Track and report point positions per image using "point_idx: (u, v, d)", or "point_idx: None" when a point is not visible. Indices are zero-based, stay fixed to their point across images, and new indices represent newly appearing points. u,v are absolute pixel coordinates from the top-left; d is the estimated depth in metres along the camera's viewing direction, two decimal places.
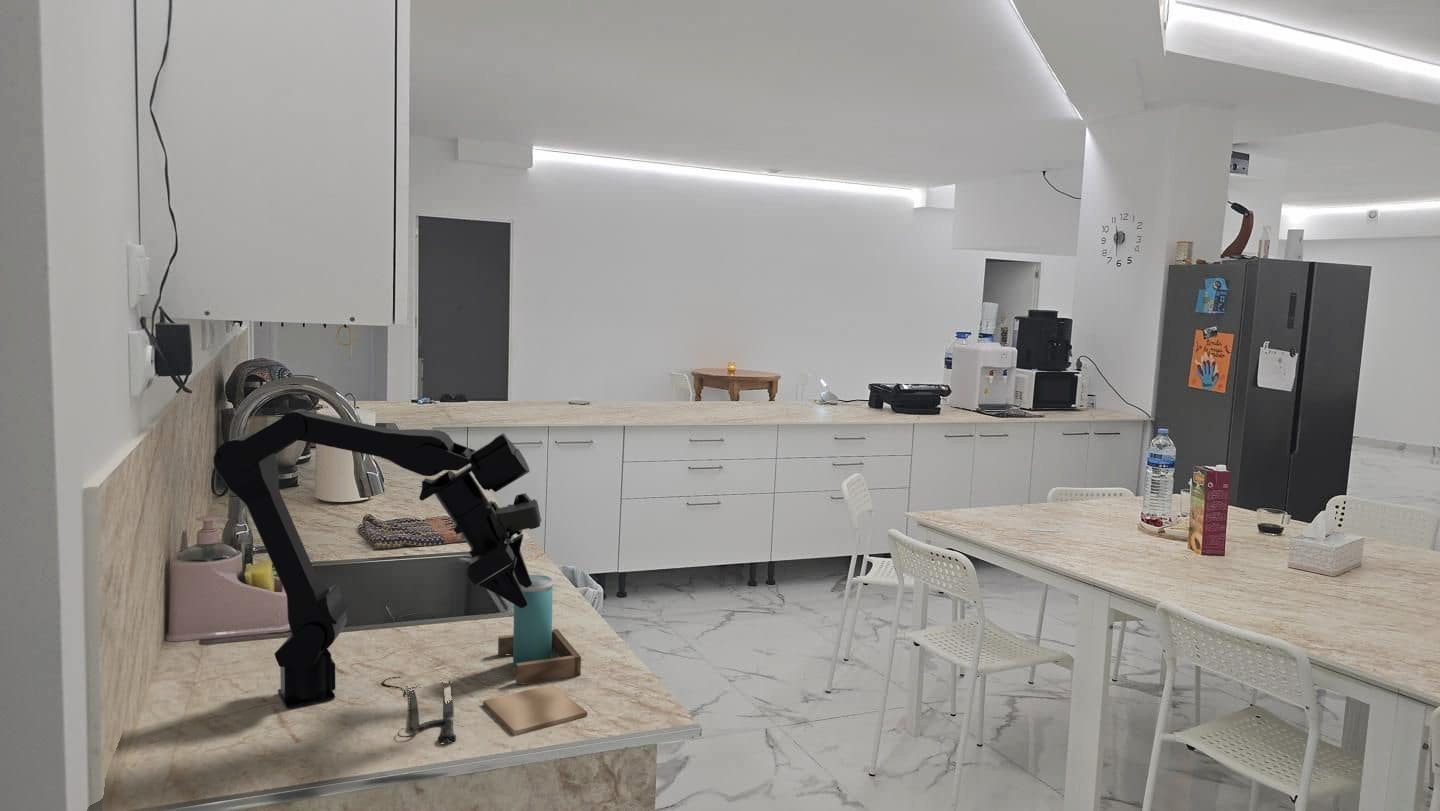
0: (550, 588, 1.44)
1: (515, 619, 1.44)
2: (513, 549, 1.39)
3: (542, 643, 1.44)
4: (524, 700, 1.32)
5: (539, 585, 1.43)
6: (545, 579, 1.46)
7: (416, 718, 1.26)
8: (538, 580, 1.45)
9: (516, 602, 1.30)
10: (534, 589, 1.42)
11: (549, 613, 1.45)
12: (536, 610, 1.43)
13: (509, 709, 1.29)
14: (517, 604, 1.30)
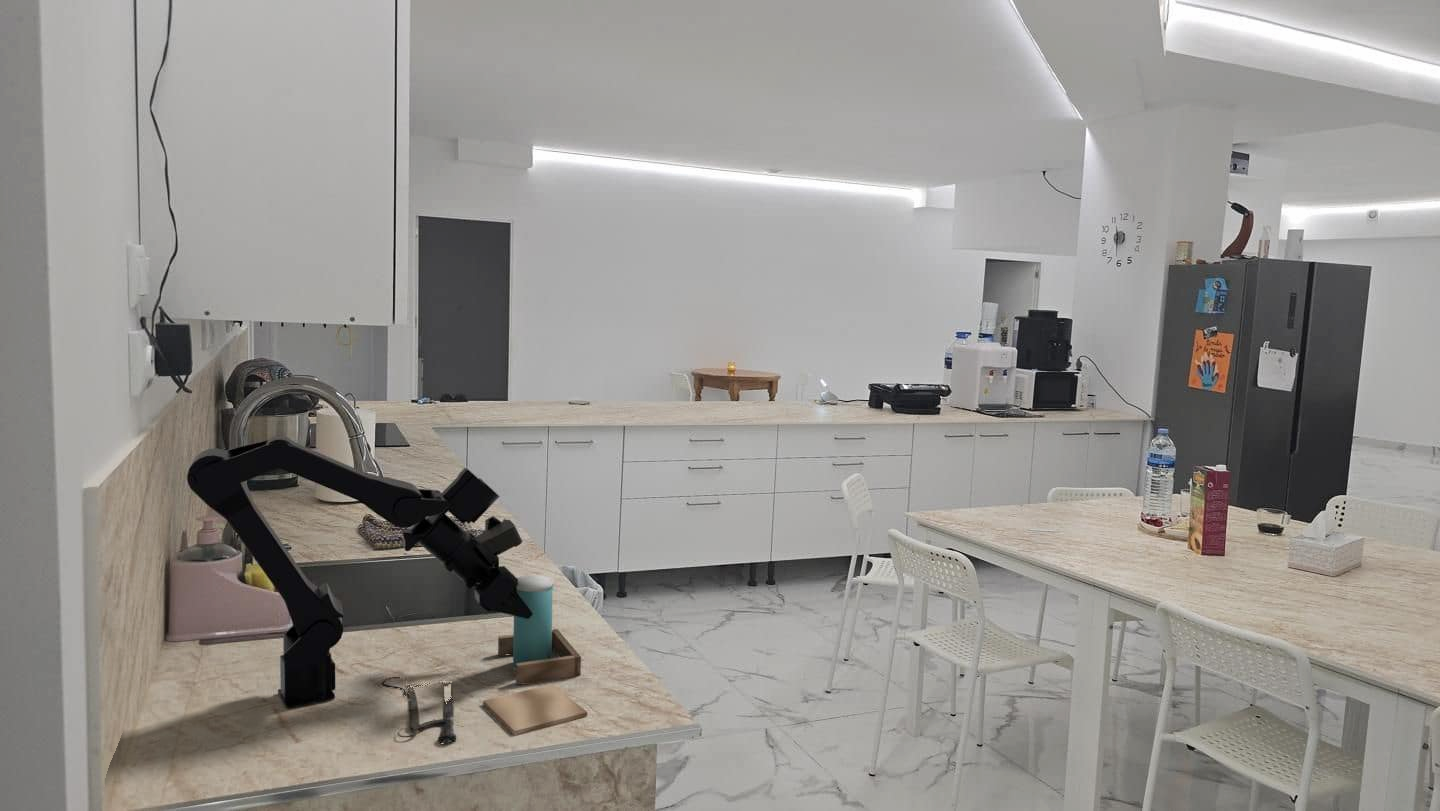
0: (550, 588, 1.44)
1: (515, 619, 1.44)
2: None
3: (542, 643, 1.44)
4: (524, 700, 1.32)
5: (539, 585, 1.43)
6: (545, 579, 1.46)
7: (417, 718, 1.26)
8: (538, 580, 1.45)
9: (523, 615, 1.40)
10: (535, 590, 1.42)
11: (549, 613, 1.45)
12: (537, 610, 1.43)
13: (509, 709, 1.29)
14: (524, 616, 1.40)
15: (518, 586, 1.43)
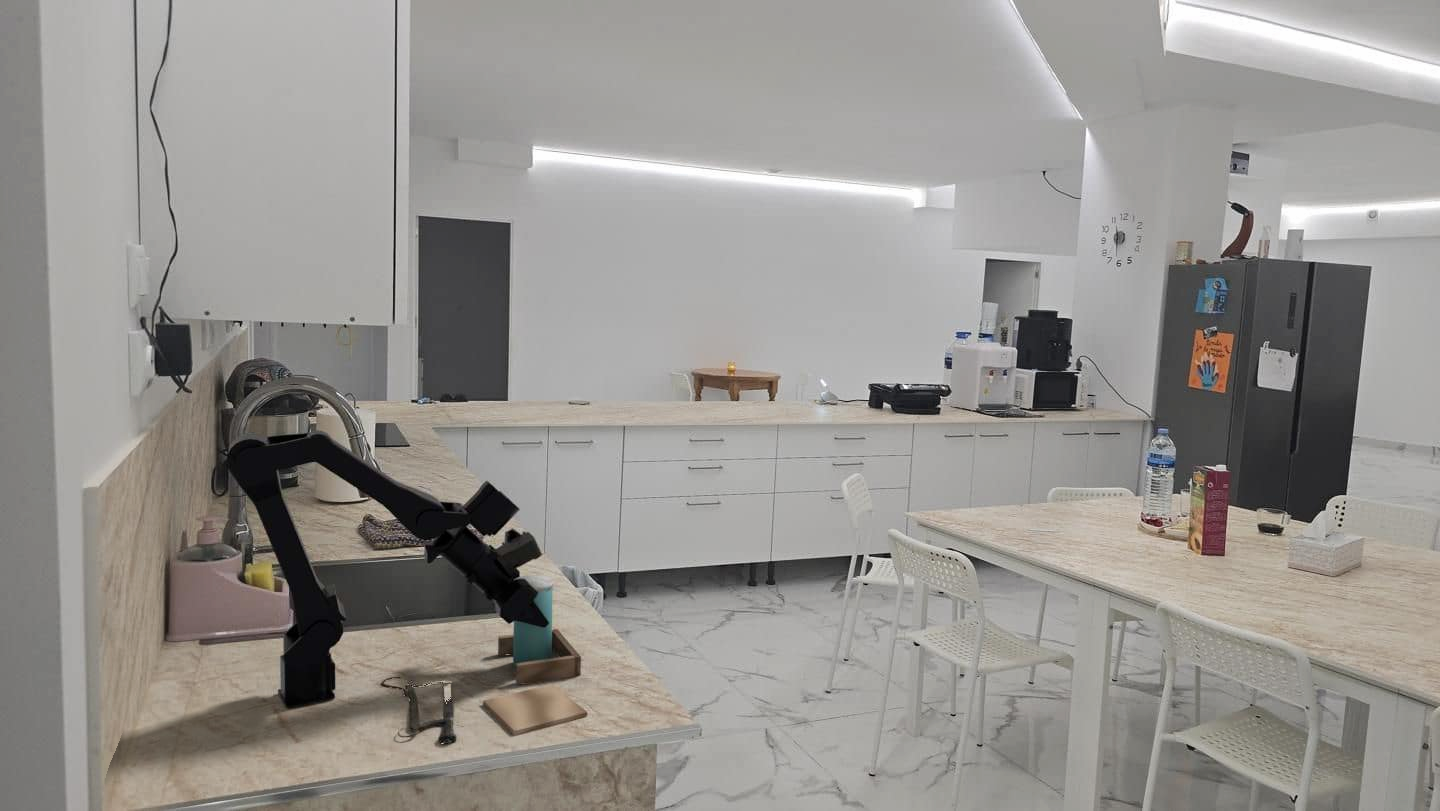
0: (550, 588, 1.44)
1: None
2: None
3: (542, 643, 1.44)
4: (524, 700, 1.32)
5: (539, 585, 1.43)
6: (545, 579, 1.46)
7: (417, 718, 1.26)
8: (538, 580, 1.45)
9: (539, 624, 1.42)
10: None
11: (549, 613, 1.45)
12: None
13: (509, 709, 1.29)
14: (541, 625, 1.43)
15: None
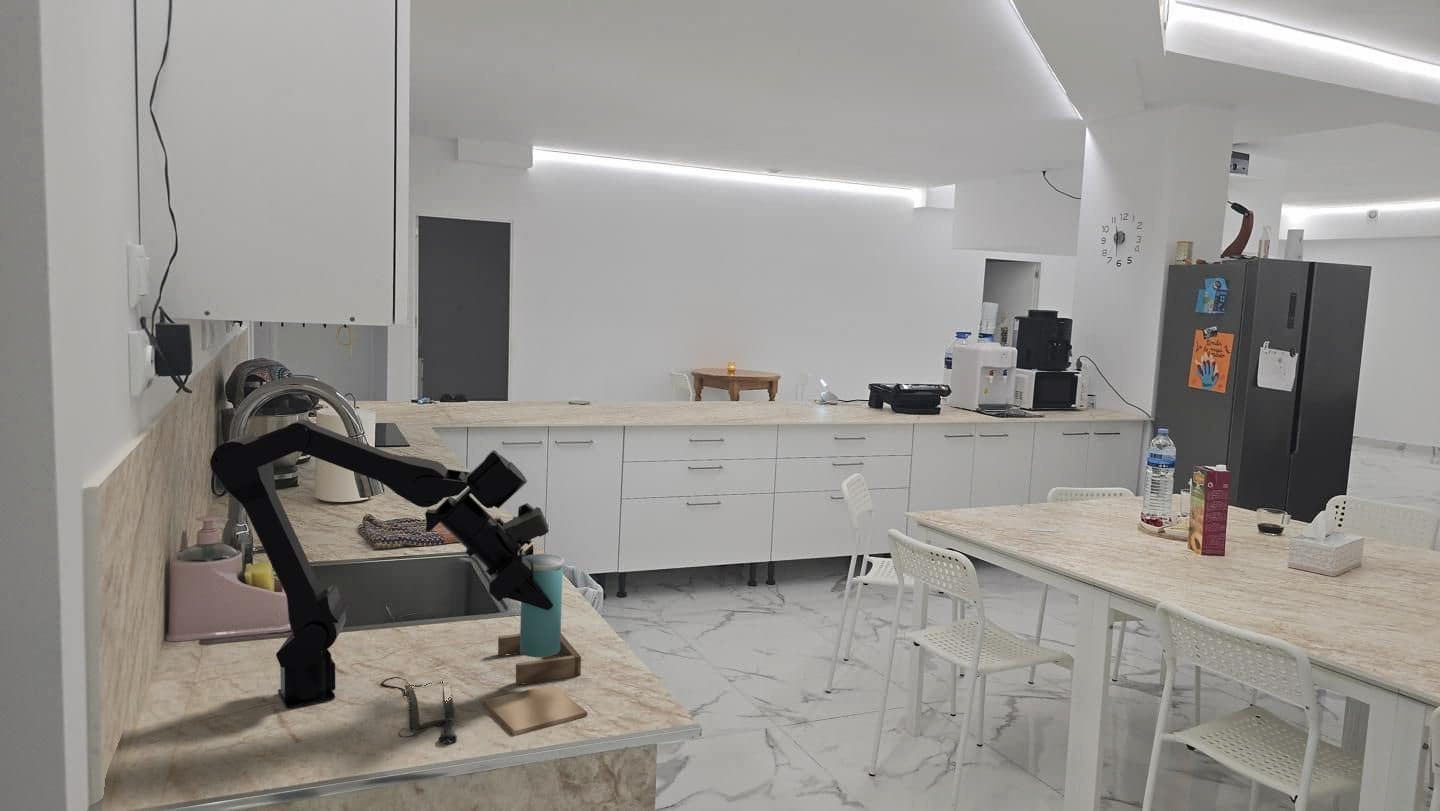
0: (557, 569, 1.35)
1: None
2: None
3: (546, 626, 1.35)
4: (524, 700, 1.32)
5: (544, 564, 1.34)
6: (555, 559, 1.37)
7: (417, 718, 1.26)
8: (547, 559, 1.37)
9: (542, 605, 1.34)
10: (538, 568, 1.34)
11: (556, 596, 1.36)
12: None
13: (509, 709, 1.29)
14: (543, 607, 1.34)
15: None
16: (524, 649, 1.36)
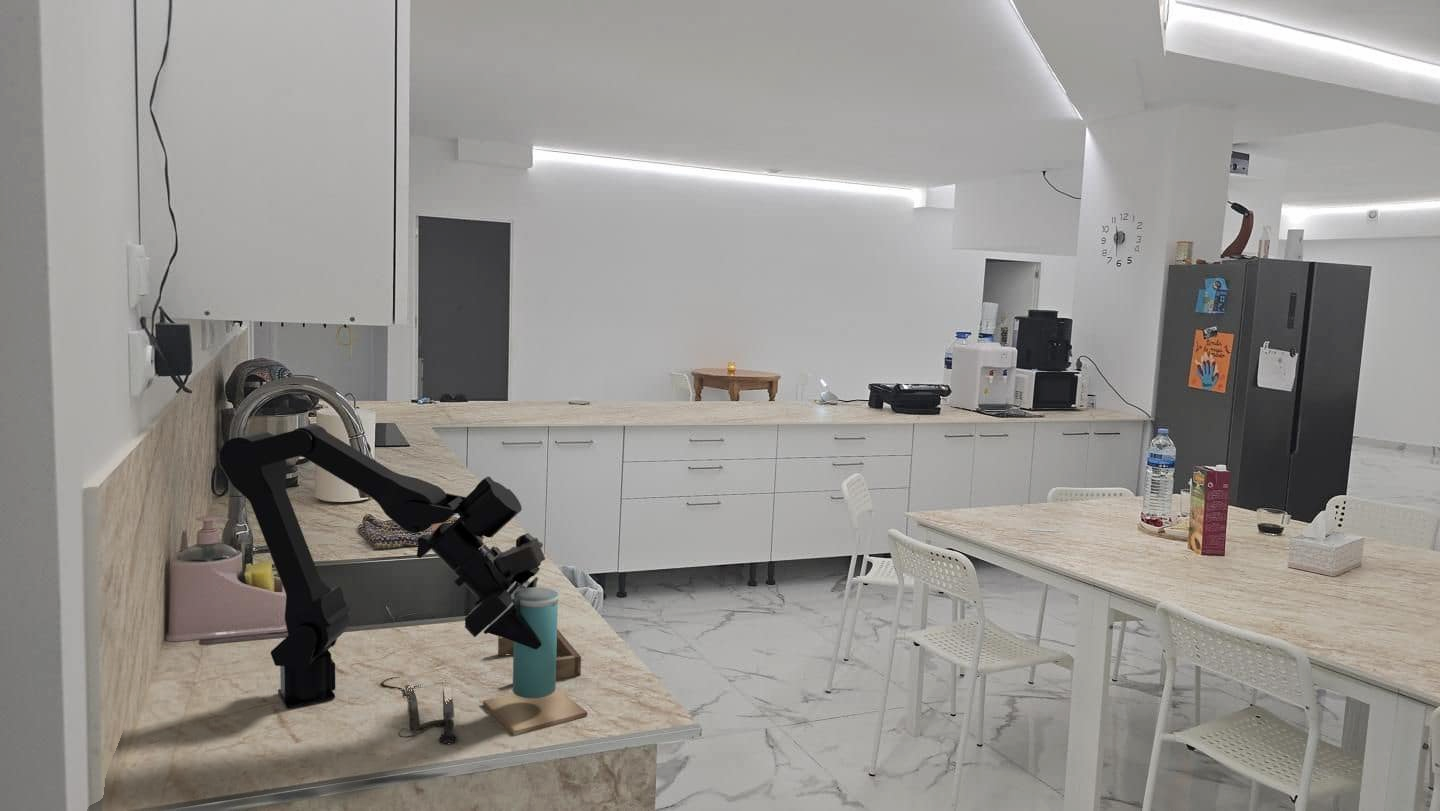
0: (548, 606, 1.27)
1: None
2: None
3: (535, 666, 1.27)
4: (524, 700, 1.32)
5: (533, 600, 1.26)
6: (550, 594, 1.29)
7: (417, 718, 1.26)
8: (541, 594, 1.29)
9: (529, 644, 1.26)
10: (526, 604, 1.26)
11: (546, 634, 1.27)
12: None
13: (509, 709, 1.29)
14: (530, 646, 1.26)
15: (514, 597, 1.28)
16: (514, 688, 1.29)
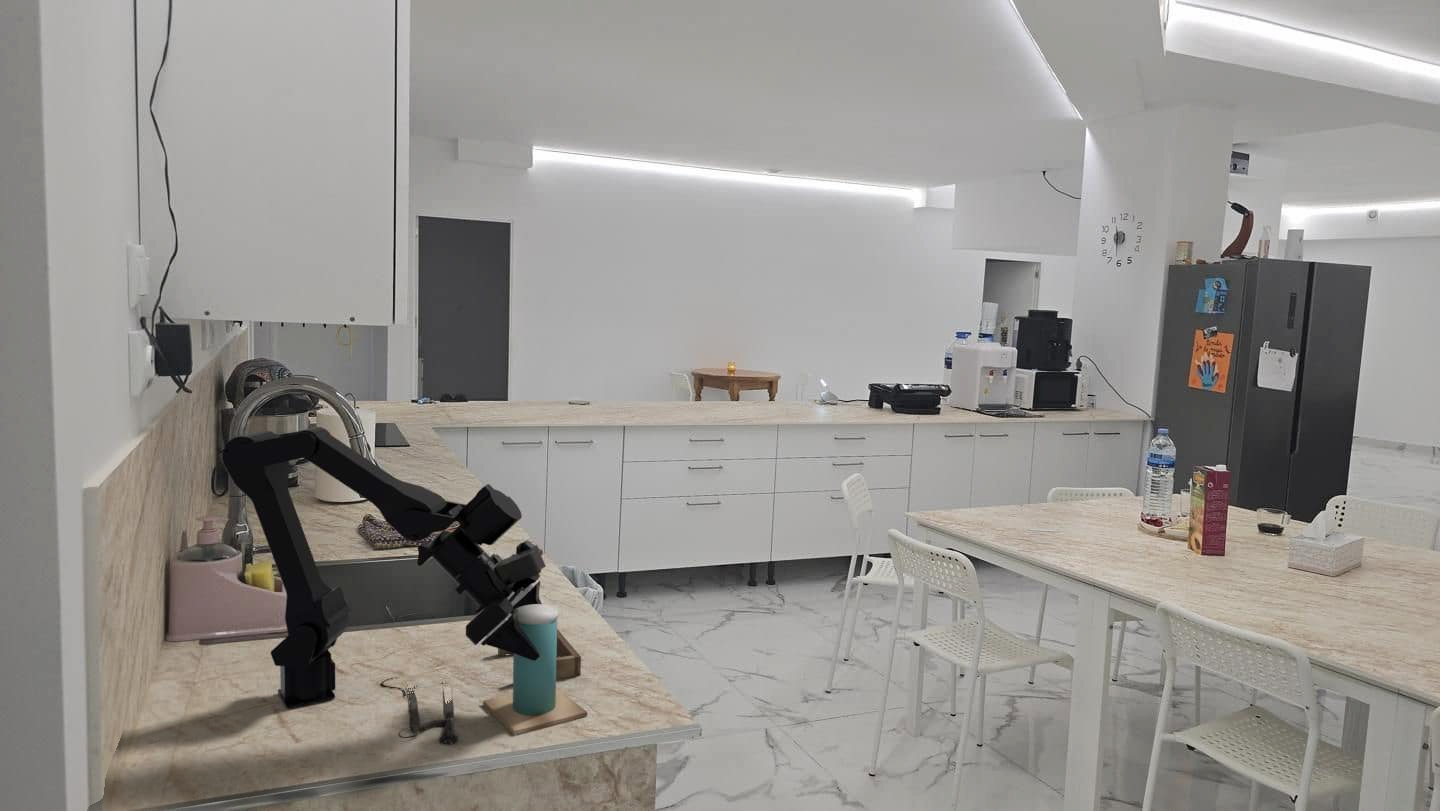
0: (547, 623, 1.27)
1: None
2: (530, 598, 1.34)
3: (535, 683, 1.27)
4: None
5: (532, 618, 1.27)
6: (549, 612, 1.29)
7: (417, 719, 1.26)
8: (540, 612, 1.29)
9: (527, 655, 1.25)
10: (526, 622, 1.26)
11: (546, 652, 1.28)
12: None
13: (509, 709, 1.29)
14: (529, 657, 1.25)
15: None
16: (514, 705, 1.29)
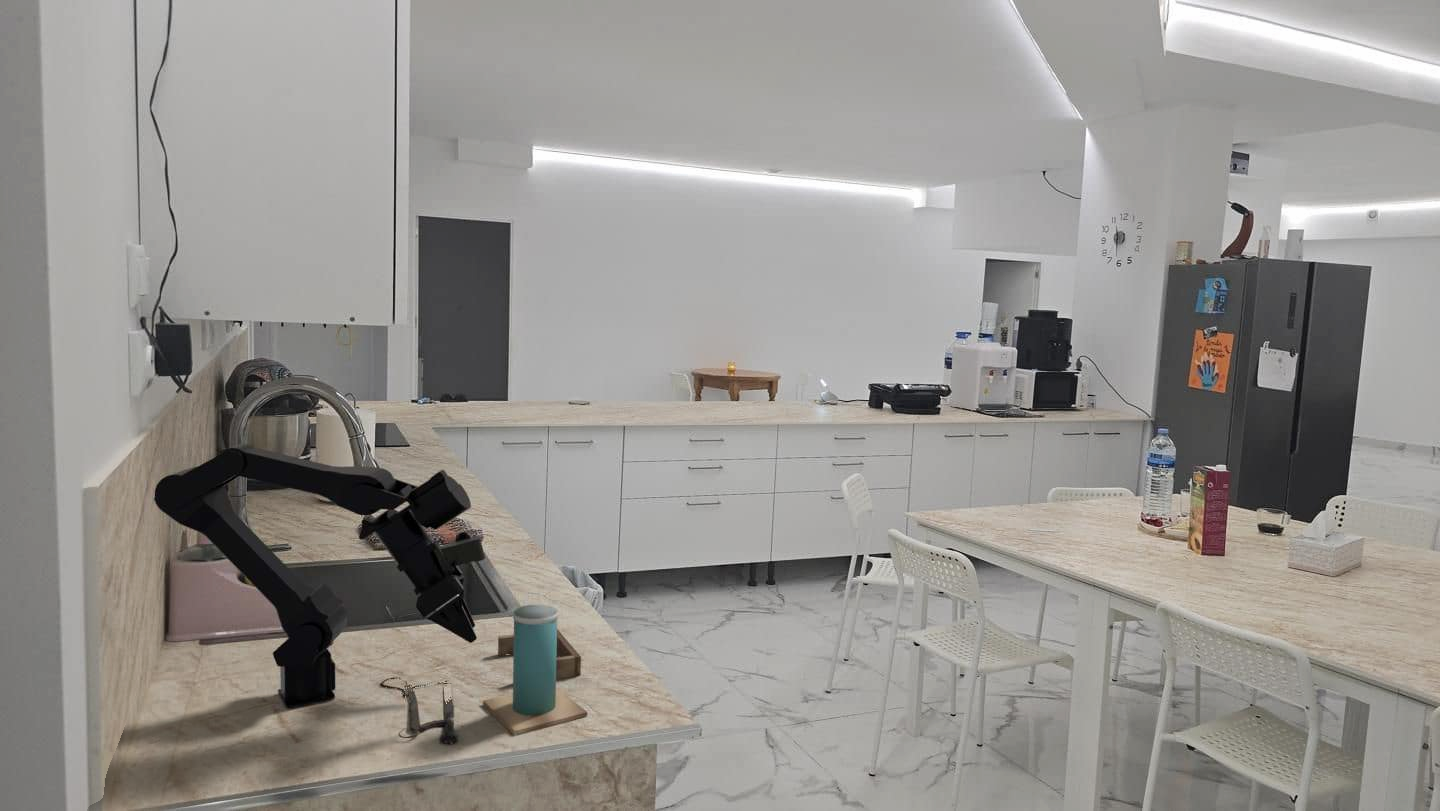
0: (547, 623, 1.27)
1: None
2: None
3: (535, 683, 1.27)
4: None
5: (532, 618, 1.27)
6: (549, 612, 1.29)
7: (417, 719, 1.26)
8: (540, 612, 1.29)
9: (465, 636, 1.27)
10: (526, 622, 1.26)
11: (546, 652, 1.28)
12: (528, 645, 1.27)
13: (509, 709, 1.29)
14: (466, 638, 1.27)
15: (513, 615, 1.28)
16: (514, 705, 1.29)
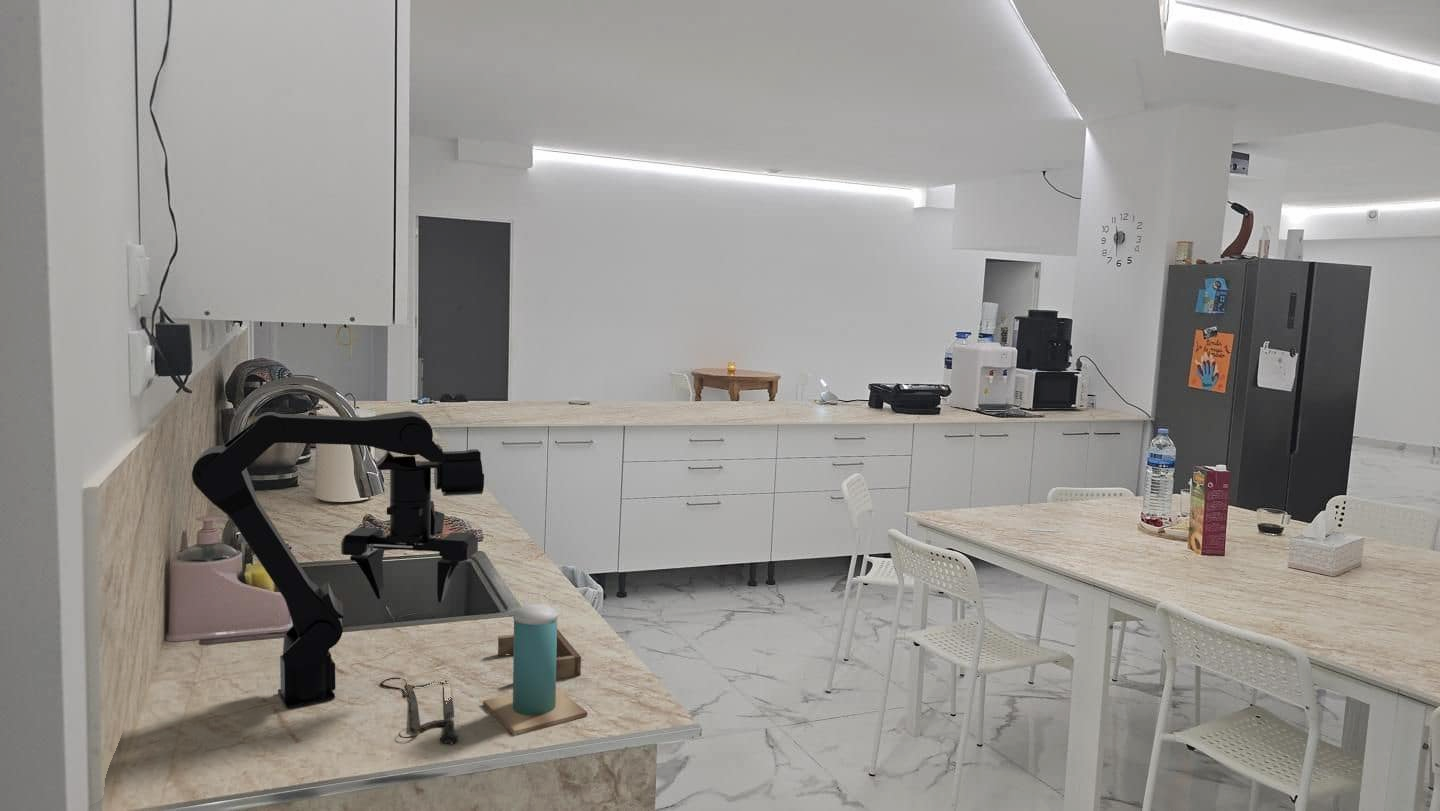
0: (547, 623, 1.27)
1: None
2: (380, 556, 1.37)
3: (535, 683, 1.27)
4: None
5: (532, 618, 1.27)
6: (549, 612, 1.29)
7: (417, 719, 1.26)
8: (540, 612, 1.29)
9: (443, 594, 1.36)
10: (526, 622, 1.26)
11: (546, 652, 1.28)
12: (528, 645, 1.27)
13: (509, 709, 1.29)
14: (442, 597, 1.36)
15: (513, 615, 1.28)
16: (514, 705, 1.29)
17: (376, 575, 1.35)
